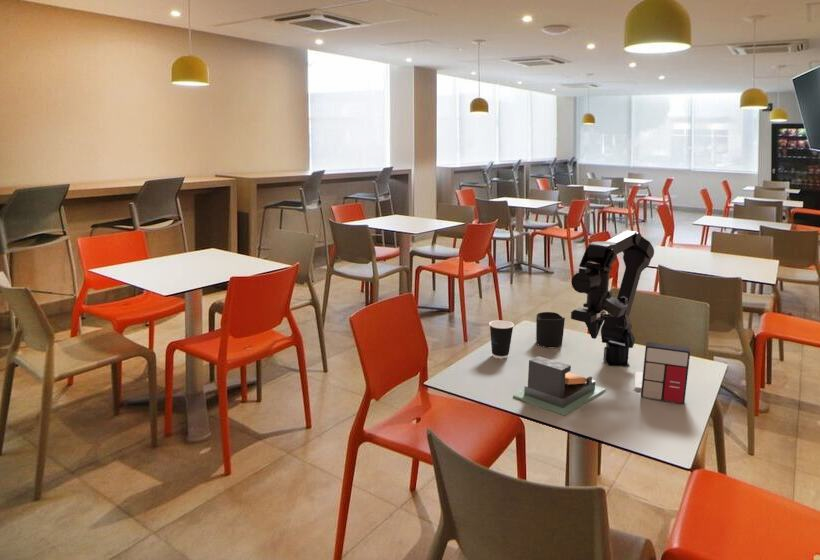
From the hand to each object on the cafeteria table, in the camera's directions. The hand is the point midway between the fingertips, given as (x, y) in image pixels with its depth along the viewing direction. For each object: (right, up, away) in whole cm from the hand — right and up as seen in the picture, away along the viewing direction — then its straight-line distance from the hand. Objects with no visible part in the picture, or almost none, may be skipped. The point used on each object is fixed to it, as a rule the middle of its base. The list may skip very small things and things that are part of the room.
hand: (594, 338), depth 180 cm
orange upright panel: (-8, -10, -6) cm, 15 cm away
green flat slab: (-12, -15, -9) cm, 21 cm away
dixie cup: (-25, -8, +19) cm, 32 cm away
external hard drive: (+15, -14, -2) cm, 21 cm away
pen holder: (-6, -5, +31) cm, 32 cm away
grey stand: (-12, -14, -9) cm, 21 cm away
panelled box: (+15, -16, -12) cm, 25 cm away
